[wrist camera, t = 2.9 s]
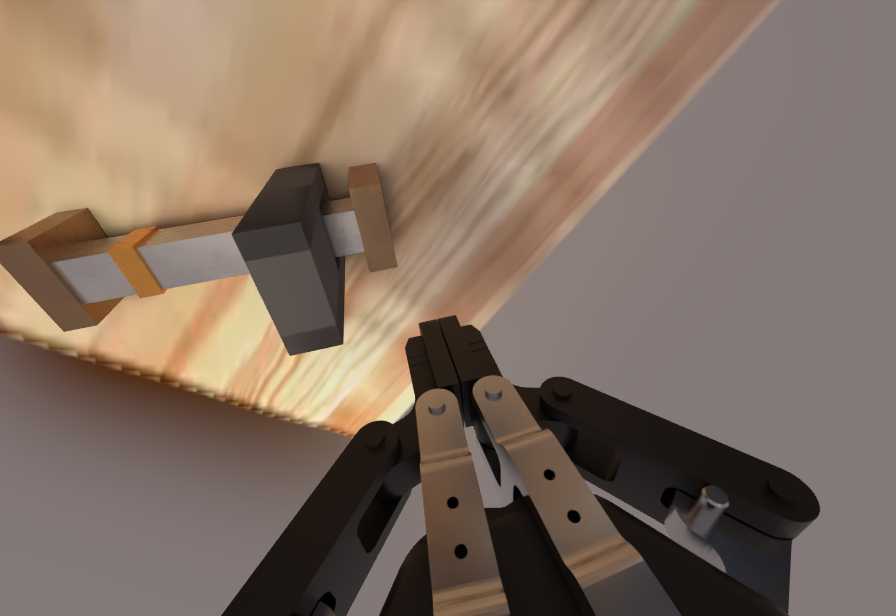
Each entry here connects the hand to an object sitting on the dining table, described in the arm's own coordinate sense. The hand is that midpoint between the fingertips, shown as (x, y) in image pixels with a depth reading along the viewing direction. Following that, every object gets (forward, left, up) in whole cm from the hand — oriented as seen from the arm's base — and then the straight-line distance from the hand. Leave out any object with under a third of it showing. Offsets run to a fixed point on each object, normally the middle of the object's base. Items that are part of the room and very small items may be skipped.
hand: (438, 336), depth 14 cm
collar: (+6, 0, -18) cm, 19 cm away
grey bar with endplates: (+12, 0, -18) cm, 22 cm away
